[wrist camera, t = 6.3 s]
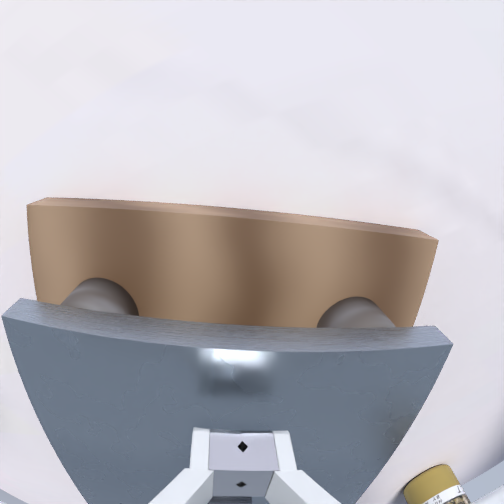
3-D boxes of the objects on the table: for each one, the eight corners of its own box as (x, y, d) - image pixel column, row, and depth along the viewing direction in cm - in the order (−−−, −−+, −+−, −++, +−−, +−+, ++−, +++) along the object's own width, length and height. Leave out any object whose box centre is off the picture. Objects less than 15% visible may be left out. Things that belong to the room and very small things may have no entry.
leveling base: (418, 229, 16) (471, 258, 11) (303, 511, 26) (310, 543, 21) (46, 197, 14) (-8, 218, 9) (122, 503, 23) (116, 536, 19)
